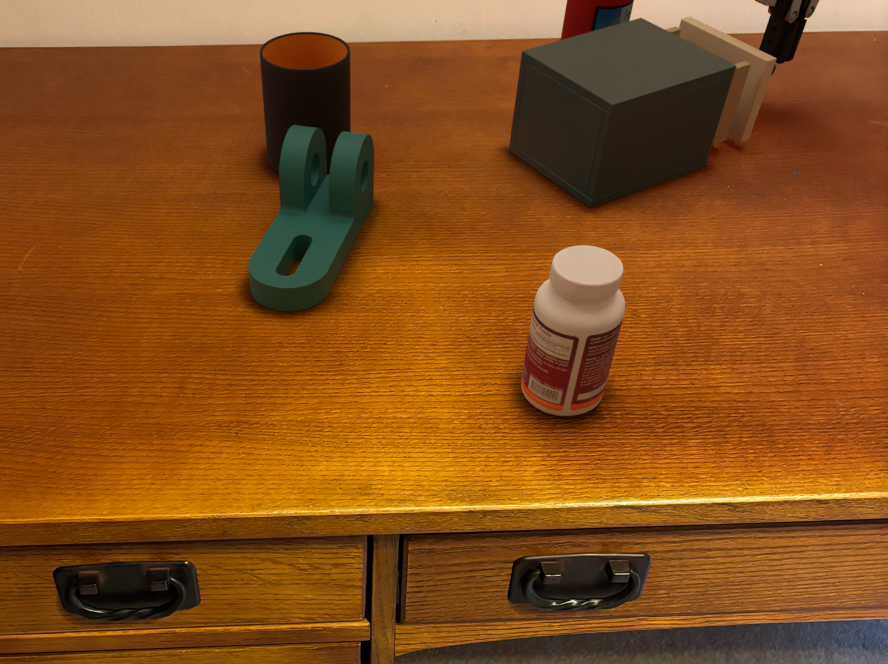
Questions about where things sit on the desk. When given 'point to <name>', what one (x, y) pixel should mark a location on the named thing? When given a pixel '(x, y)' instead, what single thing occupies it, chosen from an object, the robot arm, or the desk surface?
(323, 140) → the bracket
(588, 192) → the dark grey box
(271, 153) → the mug
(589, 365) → the pill bottle
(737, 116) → the drawer
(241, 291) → the desk surface
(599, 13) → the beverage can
